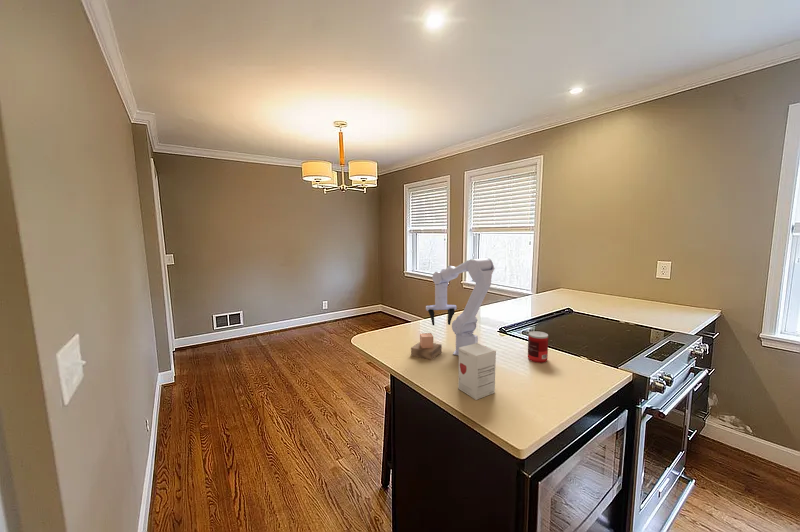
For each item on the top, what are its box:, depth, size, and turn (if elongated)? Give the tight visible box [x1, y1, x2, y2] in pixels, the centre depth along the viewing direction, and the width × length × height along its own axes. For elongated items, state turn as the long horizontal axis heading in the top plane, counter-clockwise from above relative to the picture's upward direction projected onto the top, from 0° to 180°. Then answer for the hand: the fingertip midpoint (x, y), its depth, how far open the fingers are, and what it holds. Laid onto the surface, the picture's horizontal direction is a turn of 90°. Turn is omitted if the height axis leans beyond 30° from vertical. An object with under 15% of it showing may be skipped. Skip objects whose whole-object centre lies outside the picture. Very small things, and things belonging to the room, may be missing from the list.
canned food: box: [527, 330, 549, 364], centre depth 136 cm, size 8×8×11 cm
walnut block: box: [410, 341, 443, 361], centre depth 144 cm, size 10×10×4 cm
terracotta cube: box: [419, 332, 434, 348], centre depth 144 cm, size 5×5×5 cm
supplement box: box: [457, 342, 497, 401], centre depth 110 cm, size 9×9×15 cm
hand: (441, 324), depth 156 cm, fingers open, 7 cm apart
